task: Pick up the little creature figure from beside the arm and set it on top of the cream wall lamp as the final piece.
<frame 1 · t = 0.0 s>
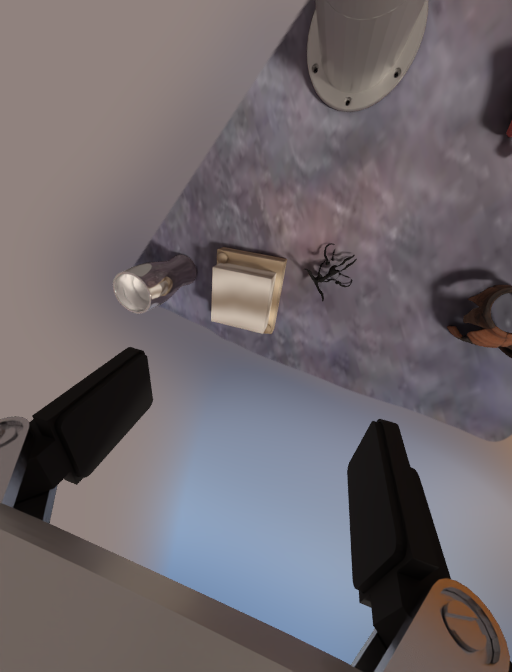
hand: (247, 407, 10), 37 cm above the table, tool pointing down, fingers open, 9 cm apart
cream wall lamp: (250, 289, 48), on the table
beer glass: (184, 269, 49), on the table
creature: (333, 267, 42), on the table
pottery mug: (485, 316, 39), on the table
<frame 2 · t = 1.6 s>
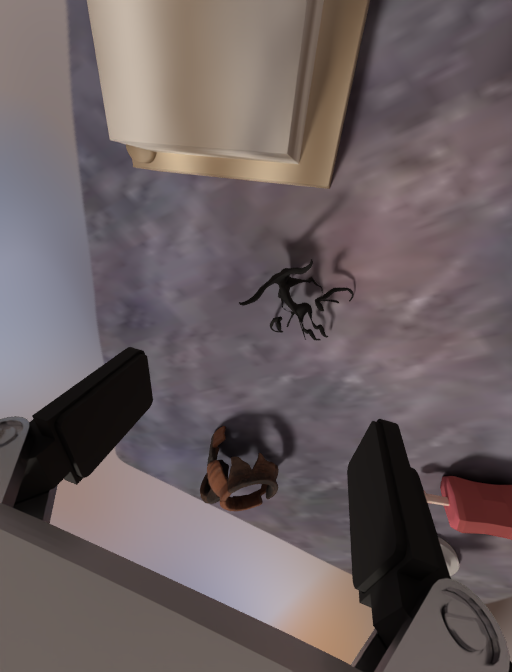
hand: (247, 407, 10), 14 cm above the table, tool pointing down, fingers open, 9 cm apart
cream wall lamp: (243, 69, 16), on the table
creature: (305, 301, 22), on the table
pottery mug: (241, 450, 35), on the table
meat: (474, 482, 26), on the table
monster figurine: (404, 546, 34), on the table
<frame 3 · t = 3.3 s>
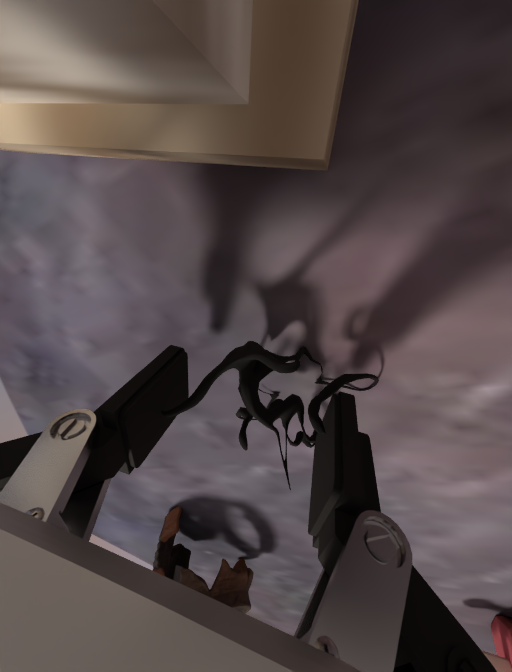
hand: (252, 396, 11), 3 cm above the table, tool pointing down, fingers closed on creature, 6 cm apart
creature: (293, 379, 13), on the table, touching gripper
pottery mug: (206, 533, 26), on the table
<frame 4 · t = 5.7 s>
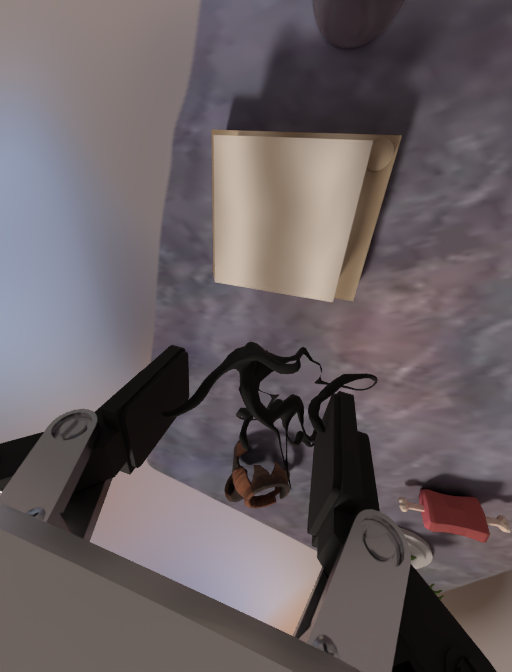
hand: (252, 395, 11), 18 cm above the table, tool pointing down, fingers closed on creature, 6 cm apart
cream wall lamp: (293, 219, 23), on the table
creature: (293, 379, 13), point 15 cm above the table, touching gripper
pottery mug: (258, 458, 42), on the table
meat: (443, 494, 34), on the table
monster figurine: (390, 542, 43), on the table
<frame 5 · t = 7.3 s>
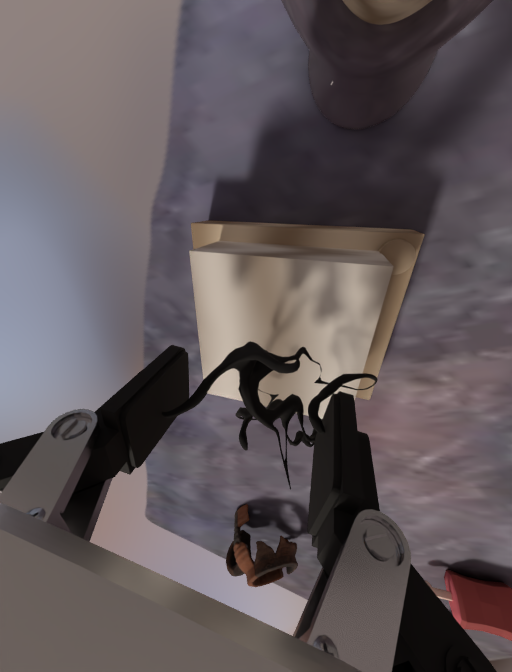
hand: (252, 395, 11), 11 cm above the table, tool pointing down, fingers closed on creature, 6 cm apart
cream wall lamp: (293, 303, 20), on the table
beer glass: (369, 55, 13), on the table
creature: (293, 379, 13), point 8 cm above the table, touching gripper
pottery mug: (262, 522, 39), on the table
meat: (472, 576, 30), on the table
when the fingers open (9 cm above the table, at t = 8.1 s): creature stays where it is, resting on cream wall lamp.
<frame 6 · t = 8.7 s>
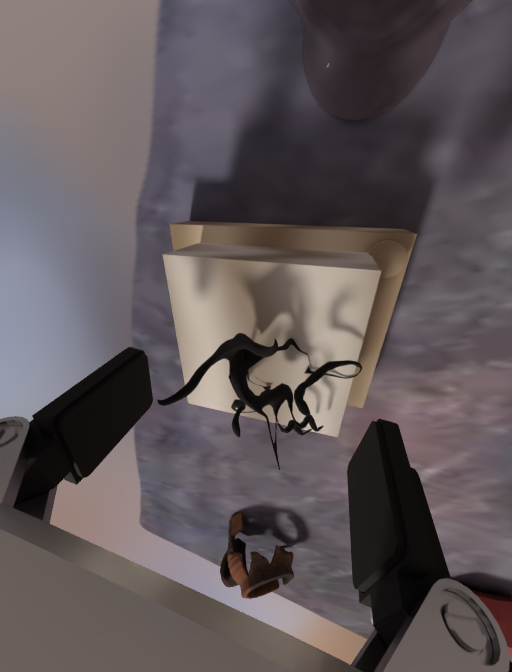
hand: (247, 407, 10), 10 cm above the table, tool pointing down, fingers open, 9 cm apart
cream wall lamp: (281, 307, 19), on the table, touching creature
beer glass: (369, 37, 11), on the table
creature: (284, 371, 14), point 6 cm above the table, touching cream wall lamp
pottery mug: (257, 530, 37), on the table
meat: (476, 588, 29), on the table
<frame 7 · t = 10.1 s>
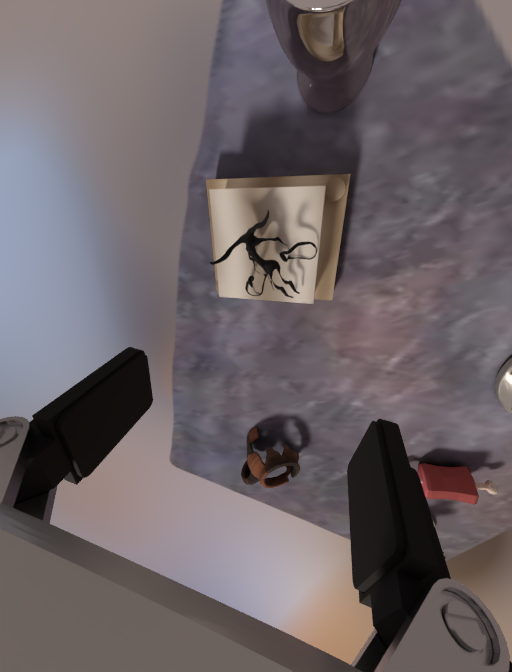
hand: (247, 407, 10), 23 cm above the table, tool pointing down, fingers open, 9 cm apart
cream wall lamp: (277, 239, 29), on the table
beer glass: (333, 67, 21), on the table
creature: (275, 262, 23), point 6 cm above the table
pottery mug: (269, 444, 47), on the table
meat: (439, 466, 39), on the table
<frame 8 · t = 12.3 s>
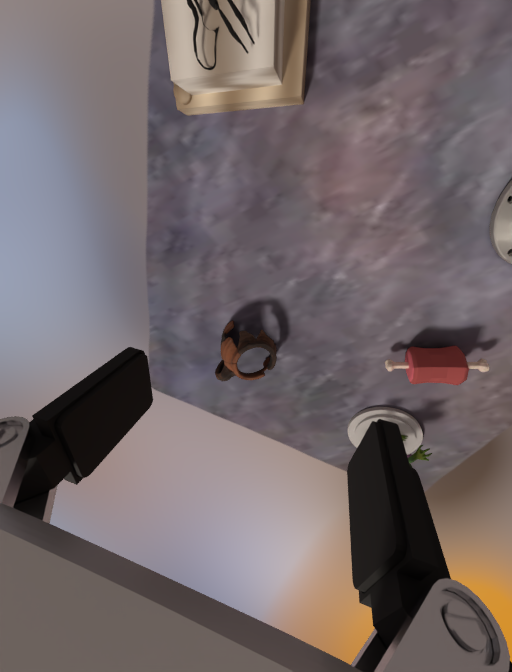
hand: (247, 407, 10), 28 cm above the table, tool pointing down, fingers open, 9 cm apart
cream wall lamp: (242, 36, 26), on the table, touching creature
creature: (225, 9, 20), point 6 cm above the table, touching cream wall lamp
pottery mug: (247, 344, 44), on the table
meat: (427, 355, 36), on the table
monster figurine: (382, 430, 44), on the table
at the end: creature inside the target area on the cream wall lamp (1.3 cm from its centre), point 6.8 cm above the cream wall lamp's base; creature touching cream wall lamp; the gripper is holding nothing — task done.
